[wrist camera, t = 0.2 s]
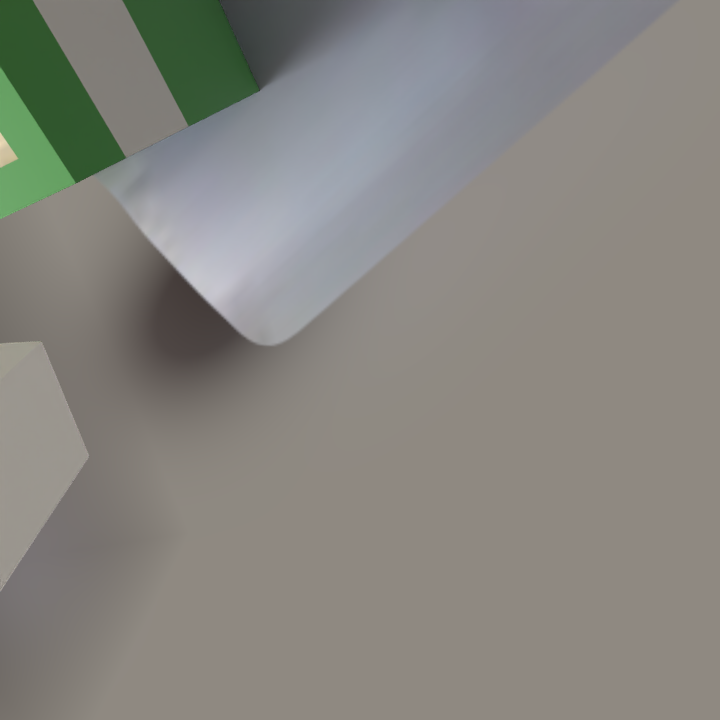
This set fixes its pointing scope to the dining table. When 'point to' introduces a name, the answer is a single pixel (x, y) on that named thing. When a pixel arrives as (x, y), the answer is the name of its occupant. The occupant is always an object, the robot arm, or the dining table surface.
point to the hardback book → (105, 84)
